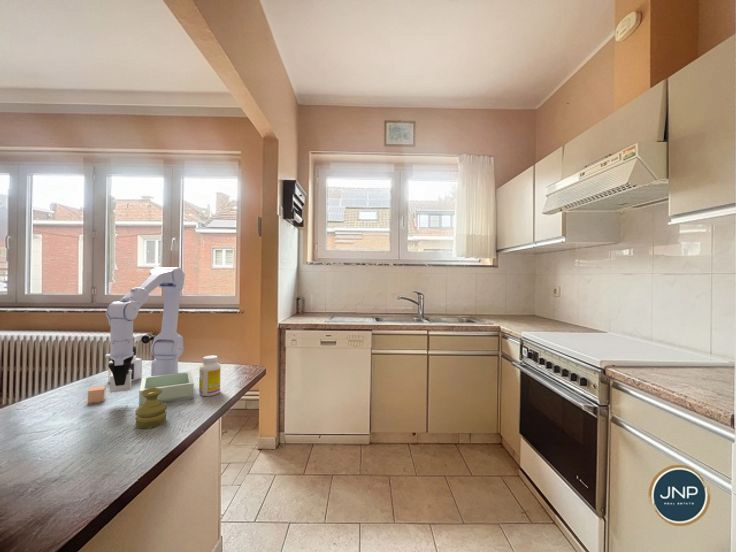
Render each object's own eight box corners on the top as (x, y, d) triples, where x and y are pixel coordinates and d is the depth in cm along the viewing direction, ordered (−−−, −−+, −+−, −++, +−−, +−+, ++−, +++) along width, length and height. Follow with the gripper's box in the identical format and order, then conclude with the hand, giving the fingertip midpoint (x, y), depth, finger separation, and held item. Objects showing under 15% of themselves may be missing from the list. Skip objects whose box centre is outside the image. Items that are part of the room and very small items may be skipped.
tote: (142, 391, 115) (142, 377, 115) (190, 384, 123) (190, 371, 123) (139, 406, 103) (139, 390, 103) (193, 398, 111) (193, 383, 110)
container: (142, 378, 130) (142, 345, 129) (121, 384, 122) (122, 349, 122) (128, 375, 132) (129, 343, 132) (107, 381, 125) (108, 347, 125)
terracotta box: (90, 399, 108) (90, 387, 108) (105, 397, 110) (105, 385, 110) (87, 403, 104) (87, 391, 104) (103, 401, 106) (103, 389, 106)
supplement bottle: (223, 390, 118) (224, 355, 118) (213, 397, 112) (214, 359, 112) (206, 389, 119) (207, 354, 119) (194, 396, 112) (195, 358, 112)
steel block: (112, 387, 105) (112, 372, 105) (131, 385, 107) (131, 370, 107) (109, 392, 100) (109, 376, 100) (129, 390, 103) (129, 374, 103)
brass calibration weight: (132, 431, 87) (133, 394, 87) (137, 420, 94) (138, 385, 94) (165, 426, 90) (166, 390, 90) (167, 415, 97) (168, 381, 97)
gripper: (109, 336, 108) (108, 377, 108) (101, 345, 95) (101, 391, 96) (135, 334, 111) (134, 374, 112) (131, 343, 99) (130, 388, 99)
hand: (121, 382), depth 104 cm, fingers closed on steel block, 5 cm apart
